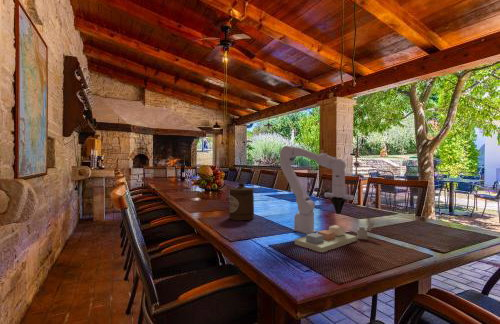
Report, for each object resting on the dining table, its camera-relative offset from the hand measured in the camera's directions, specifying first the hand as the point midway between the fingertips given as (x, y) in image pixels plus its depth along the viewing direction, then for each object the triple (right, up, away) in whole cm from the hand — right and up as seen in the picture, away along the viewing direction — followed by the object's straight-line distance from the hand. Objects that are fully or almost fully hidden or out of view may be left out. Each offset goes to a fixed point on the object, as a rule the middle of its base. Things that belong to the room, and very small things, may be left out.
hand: (338, 213), depth 132 cm
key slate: (-15, -9, -16) cm, 23 cm away
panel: (-9, -11, -11) cm, 17 cm away
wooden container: (-47, -10, +37) cm, 61 cm away
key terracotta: (-9, -9, -11) cm, 16 cm away
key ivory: (-3, -8, -6) cm, 10 cm away
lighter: (+11, -11, -5) cm, 16 cm away
